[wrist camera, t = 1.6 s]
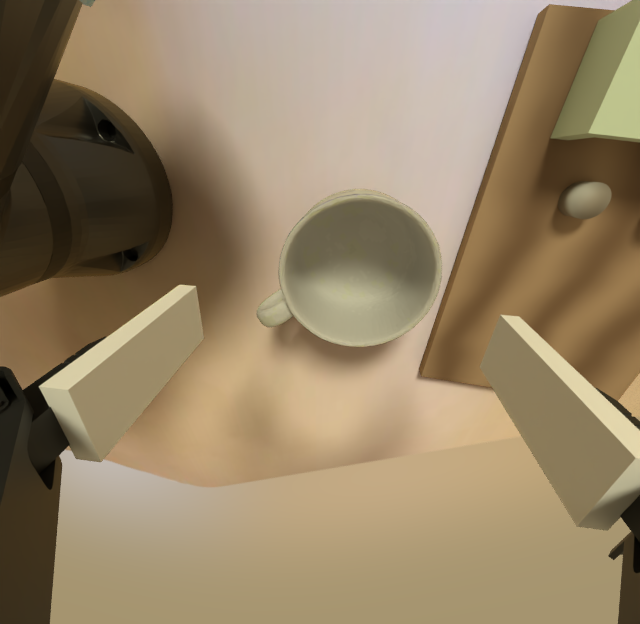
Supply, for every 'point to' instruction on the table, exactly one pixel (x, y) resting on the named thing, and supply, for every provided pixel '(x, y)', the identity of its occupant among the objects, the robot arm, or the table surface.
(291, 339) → the table surface
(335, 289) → the teacup
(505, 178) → the board
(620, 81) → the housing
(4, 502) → the robot arm
